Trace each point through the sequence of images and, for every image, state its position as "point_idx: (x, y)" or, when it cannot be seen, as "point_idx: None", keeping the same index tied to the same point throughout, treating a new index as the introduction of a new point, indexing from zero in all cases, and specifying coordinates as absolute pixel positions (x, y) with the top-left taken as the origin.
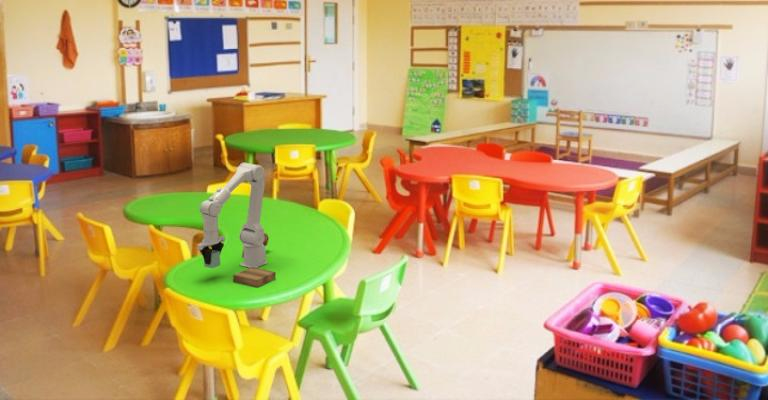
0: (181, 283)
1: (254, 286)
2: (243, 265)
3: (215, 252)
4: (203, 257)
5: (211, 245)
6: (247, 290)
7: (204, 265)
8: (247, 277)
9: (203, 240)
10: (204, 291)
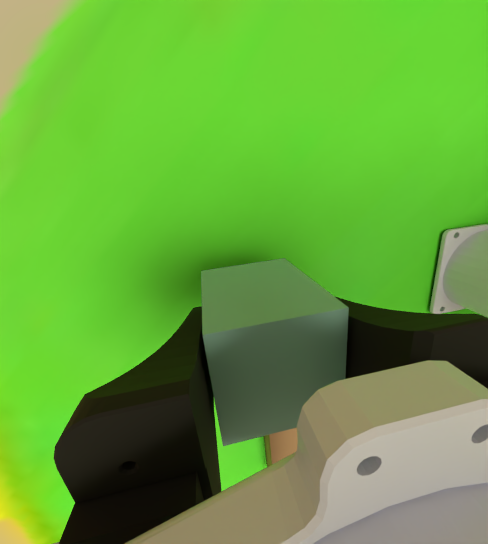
0: (42, 208)
1: (266, 458)
2: (443, 257)
3: (288, 422)
4: (174, 334)
5: (393, 341)
6: (224, 466)
7: (202, 276)
8: (279, 457)
9: (312, 481)
10: (81, 388)
